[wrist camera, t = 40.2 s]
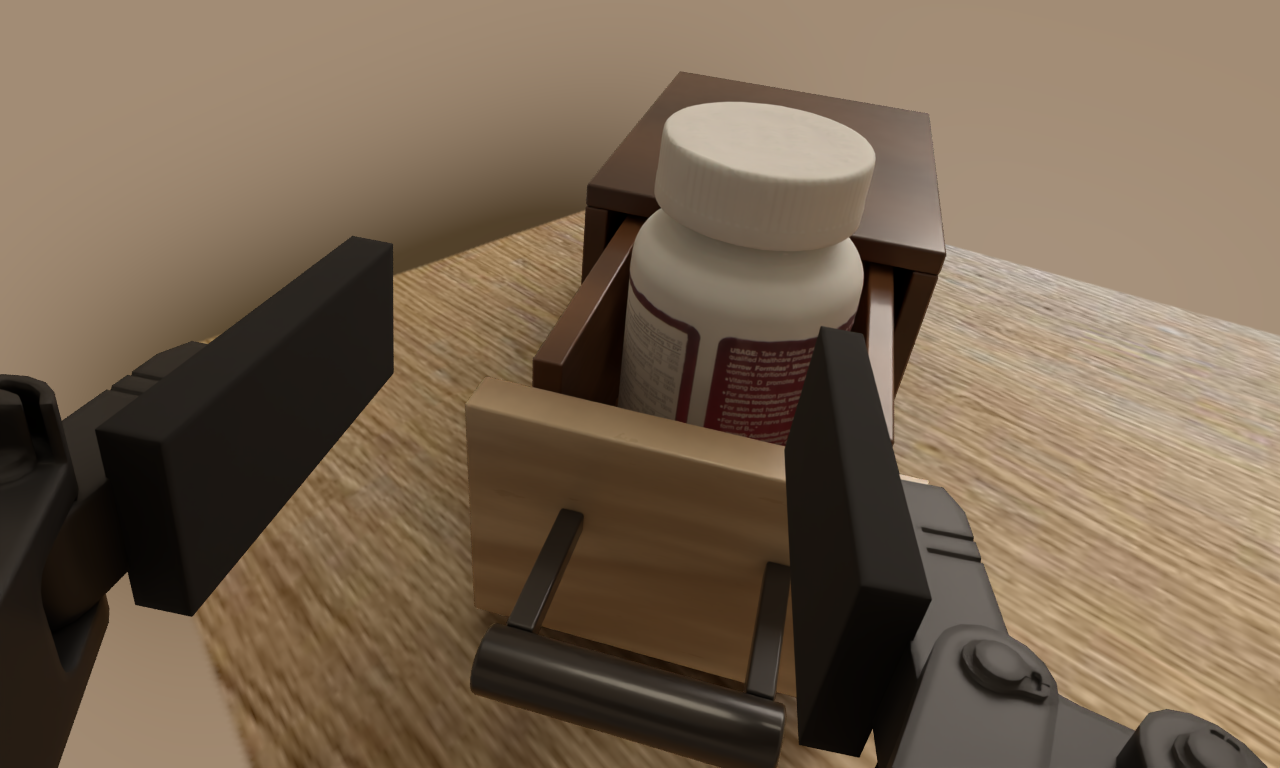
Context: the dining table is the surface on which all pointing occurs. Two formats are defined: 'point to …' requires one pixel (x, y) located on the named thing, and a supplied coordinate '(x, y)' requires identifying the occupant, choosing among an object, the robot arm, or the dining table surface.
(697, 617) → the drawer
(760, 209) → the pill bottle
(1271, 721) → the dining table surface
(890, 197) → the cabinet
